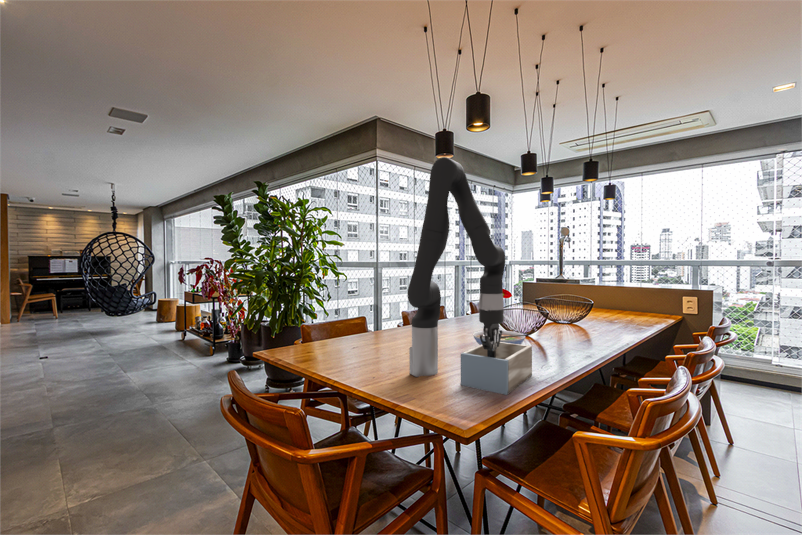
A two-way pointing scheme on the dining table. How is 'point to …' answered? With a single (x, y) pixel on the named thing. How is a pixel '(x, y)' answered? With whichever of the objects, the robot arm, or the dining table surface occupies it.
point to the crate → (511, 361)
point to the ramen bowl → (504, 337)
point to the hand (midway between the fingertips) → (491, 361)
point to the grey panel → (484, 373)
